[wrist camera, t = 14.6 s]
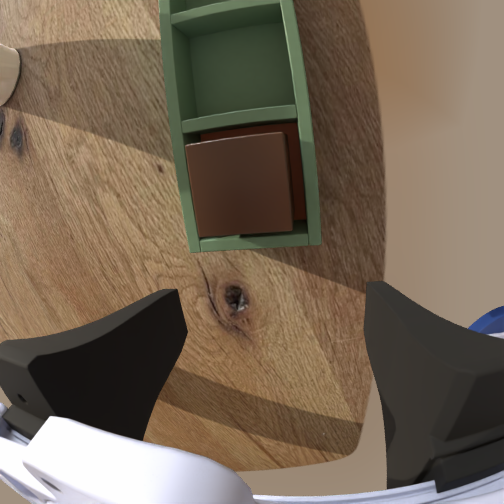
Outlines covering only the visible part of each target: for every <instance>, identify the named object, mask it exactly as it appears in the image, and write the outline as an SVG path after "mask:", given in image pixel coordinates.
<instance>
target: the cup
mask: <svg viewBox="0 0 504 504" xmlns="http://www.w3.org/2000/svg"><path fill="white" fill-rule="evenodd" d="M20 70H21V59H20V54H19V53H18V52H17V51H16V50H15V49H14V48H9V47H7V46H4V45H2V44H0V106H1V105H3V104H4V103H6V102H7V101H8V100H9V98H10V97H11V96H12V94H13V92H14V90H15V88H16V86H17V83H18V79H19V76H20Z"/></svg>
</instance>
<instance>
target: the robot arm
mask: <svg viewBox="0 0 504 504" xmlns="http://www.w3.org/2000/svg"><path fill="white" fill-rule="evenodd" d="M187 333H188V330H187V326H186V322H185V319H184V315H183V311H182V307H181V302H180V298H179V294H178V290H177V289H162V290H159V291H157V292H154V293H152V294H150V295H148V296H146V297H144V298H142V299H140V300H138V301H136V302H134V303H132V304H130V305H129V306H127V307H125V308H123V309H121V310H119V311H116V312H114V313H112V314H110V315H108V316H106V317H104V318H102V319H99V320H97V321H94V322H92V323H89V324H87V325H84V326H81V327H78V328H75V329H71V330H68V331H64V332H61V333H57V334H52V335H48V336H42V337H36V338H29V339H17V340H6V341H3V342H2V343H1V344H0V386H1V388H2V390H3V391H4V393H5V394H6V396H7V397H8V399H9V400H10V401H11V403H12V405H11V407H10V408H9V409H8V408H7V407H6V406H5V405H4V404H2V403H1V402H0V479H1V480H3V481H4V482H5V483H6V484H7V485H9V486H10V487H11V488H12V489H14V490H15V491H16V492H17V493H19V494H20V495H22V496H23V497H24V498H25V499H27V500H28V501H29V502H31V503H32V504H504V332H502V333H494V334H483V333H479V332H476V331H473V330H470V329H467V328H464V327H462V326H459V325H457V324H454V323H452V322H450V321H448V320H445V319H444V318H441V317H439V316H437V315H436V314H434V313H432V312H430V311H429V310H427V309H425V308H423V307H422V306H420V305H418V304H417V303H415V302H414V301H412V300H411V299H409V298H408V297H406V296H405V295H403V294H402V293H400V292H399V291H398V290H396V289H394V288H393V287H392V286H390V285H389V284H387V283H386V282H384V281H375V282H367V287H366V304H365V318H364V335H365V342H366V348H367V353H368V356H369V360H370V363H371V367H372V370H373V373H374V377H375V380H376V384H377V388H378V391H379V395H380V400H381V404H382V411H383V420H384V427H385V428H384V429H385V441H386V458H387V490H381V491H374V492H367V493H357V494H346V495H332V496H269V495H255V494H252V492H251V489H250V487H249V486H248V485H247V484H246V483H245V482H244V481H243V480H242V479H241V478H240V477H239V476H238V475H237V473H236V472H235V471H234V470H232V469H230V468H228V467H226V466H224V465H222V464H220V463H218V462H216V461H214V460H212V459H210V458H208V457H204V456H201V455H197V454H193V453H190V452H186V451H183V450H180V449H177V448H171V447H166V446H162V445H157V444H152V443H148V442H144V441H143V437H144V434H145V431H146V428H147V425H148V422H149V418H150V416H151V413H152V410H153V408H154V405H155V402H156V400H157V398H158V395H159V393H160V391H161V389H162V387H163V386H164V384H165V382H166V380H167V378H168V376H169V374H170V372H171V371H172V369H173V367H174V365H175V363H176V361H177V359H178V357H179V355H180V353H181V351H182V348H183V346H184V343H185V340H186V336H187Z"/></svg>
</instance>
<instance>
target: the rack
mask: <svg viewBox="0 0 504 504" xmlns="http://www.w3.org/2000/svg"><path fill="white" fill-rule="evenodd" d="M159 17H160V33H161V47H162V59H163V70H164V80H165V90H166V99H167V108H168V116H169V124H170V132H171V140H172V147H173V154H174V161H175V168H176V174H177V181H178V187H179V193H180V199H181V205H182V211H183V217H184V223H185V228H186V234H187V239H188V245H189V250H190V253H196V252H210V251H226V250H243V249H260V248H276V247H293V246H308V245H321V244H322V239H321V220H320V204H319V190H318V177H317V165H316V155H315V144H314V135H313V126H312V117H311V109H310V101H309V93H308V86H307V79H306V72H305V65H304V59H303V52H302V46H301V40H300V35H299V29H298V24H297V18H296V13H295V8H294V3H293V0H159ZM273 132H283V133H285V134H287V136H288V145H289V154H290V164H291V174H292V184H293V195H294V206H295V211H294V222H293V230H292V231H283V232H268V233H253V234H239V235H225V236H211V237H199V233H198V227H197V221H196V215H195V209H194V203H193V196H192V190H191V183H190V177H189V170H188V163H187V156H186V149H185V146H186V145H187V144H193V143H199V142H205V141H211V140H217V139H224V138H231V137H239V136H246V135H255V134H263V133H273Z"/></svg>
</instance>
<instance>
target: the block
mask: <svg viewBox="0 0 504 504" xmlns="http://www.w3.org/2000/svg"><path fill="white" fill-rule="evenodd" d="M185 149H186V156H187V163H188V170H189V177H190V183H191V190H192V196H193V203H194V209H195V215H196V221H197V227H198V233H199V237H211V236H225V235H239V234H253V233H268V232H283V231H292V230H293V222H294V211H295V206H294V195H293V184H292V174H291V164H290V154H289V145H288V136H287V134H285V133H283V132H273V133H263V134H255V135H246V136H239V137H231V138H224V139H217V140H211V141H205V142H199V143H193V144H187V145H186V146H185Z"/></svg>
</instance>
